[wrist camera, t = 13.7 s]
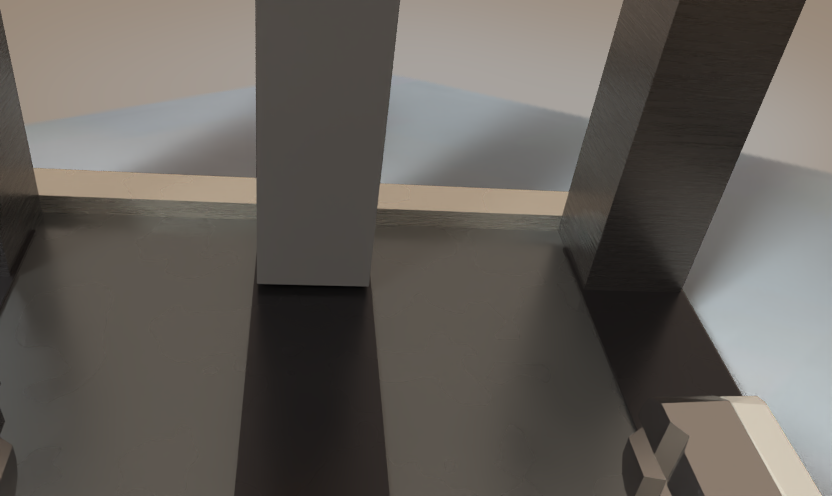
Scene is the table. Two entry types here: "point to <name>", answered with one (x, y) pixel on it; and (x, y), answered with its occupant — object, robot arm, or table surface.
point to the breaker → (320, 136)
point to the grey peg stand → (383, 304)
